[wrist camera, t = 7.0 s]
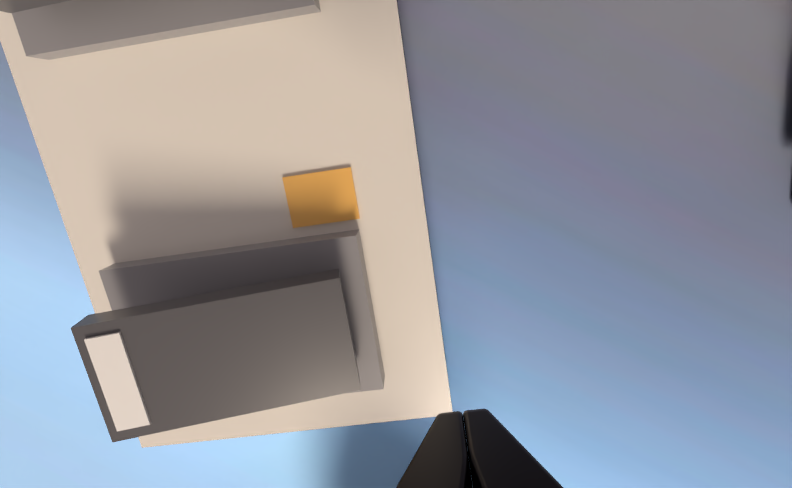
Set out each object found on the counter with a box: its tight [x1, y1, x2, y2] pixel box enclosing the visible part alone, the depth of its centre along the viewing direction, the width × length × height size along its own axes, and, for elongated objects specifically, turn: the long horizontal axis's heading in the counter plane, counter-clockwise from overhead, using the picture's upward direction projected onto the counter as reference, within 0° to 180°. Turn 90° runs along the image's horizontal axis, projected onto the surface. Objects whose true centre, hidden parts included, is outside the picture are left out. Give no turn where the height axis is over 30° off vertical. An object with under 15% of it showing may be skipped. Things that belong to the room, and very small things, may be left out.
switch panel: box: [0, 0, 452, 448], centre depth 16 cm, size 13×25×3 cm, turn 9°
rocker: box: [71, 269, 361, 442], centre depth 15 cm, size 8×4×1 cm, turn 98°
